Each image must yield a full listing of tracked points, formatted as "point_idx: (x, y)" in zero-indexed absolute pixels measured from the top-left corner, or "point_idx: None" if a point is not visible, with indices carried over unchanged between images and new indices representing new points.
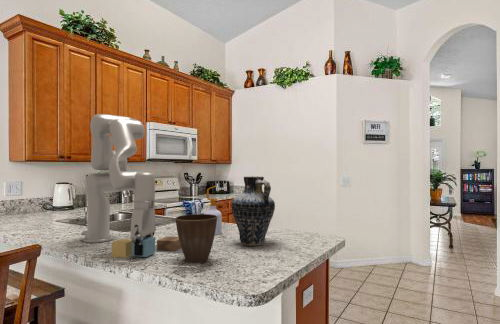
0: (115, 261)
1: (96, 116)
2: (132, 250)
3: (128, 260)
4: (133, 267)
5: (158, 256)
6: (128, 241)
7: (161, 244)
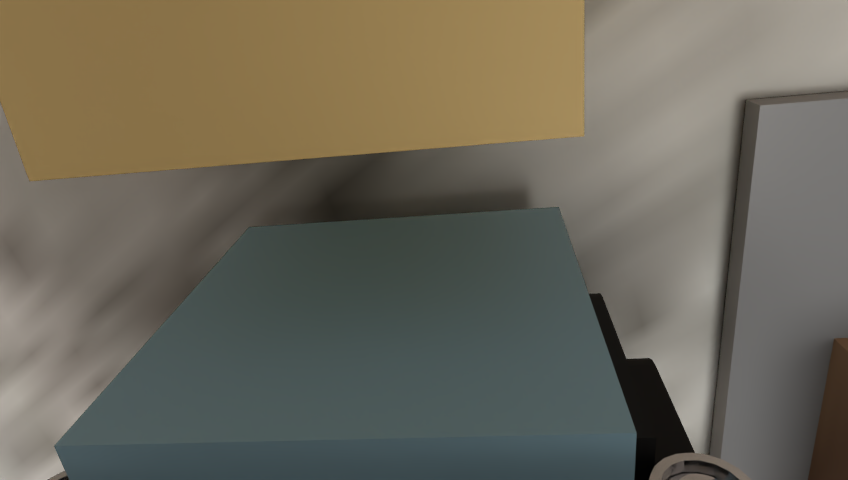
0: None
1: None
2: (210, 286)
3: (187, 205)
4: (6, 455)
5: None
6: (225, 128)
7: None
